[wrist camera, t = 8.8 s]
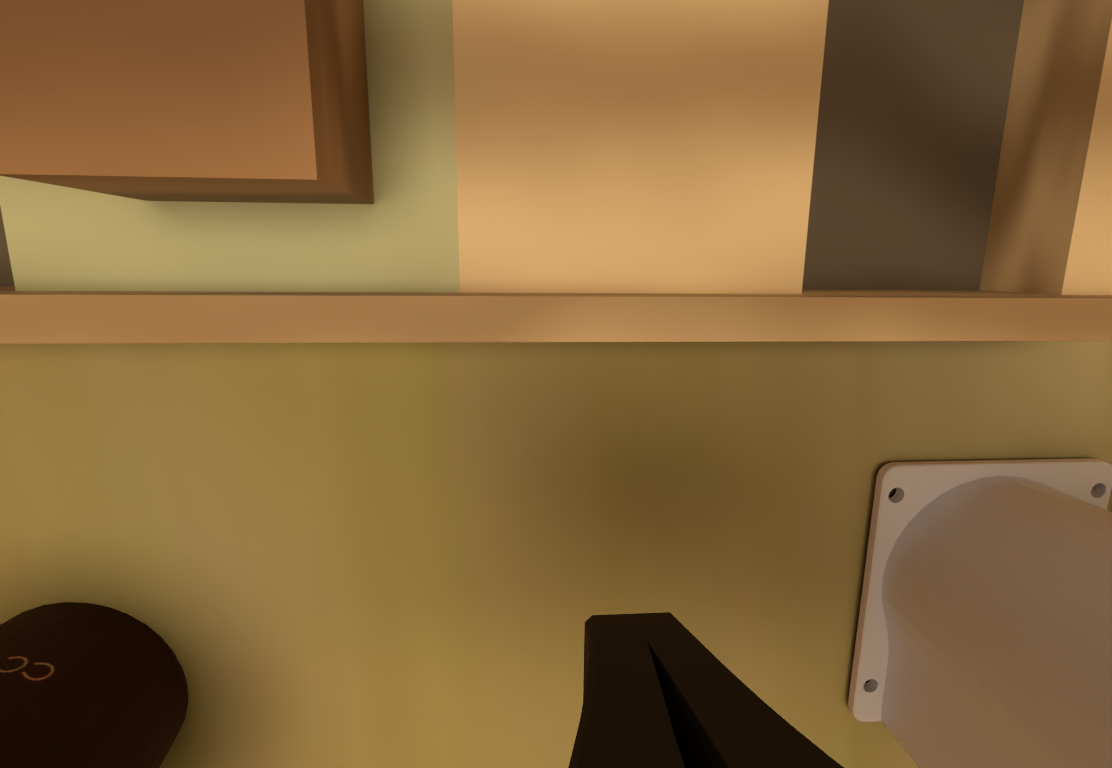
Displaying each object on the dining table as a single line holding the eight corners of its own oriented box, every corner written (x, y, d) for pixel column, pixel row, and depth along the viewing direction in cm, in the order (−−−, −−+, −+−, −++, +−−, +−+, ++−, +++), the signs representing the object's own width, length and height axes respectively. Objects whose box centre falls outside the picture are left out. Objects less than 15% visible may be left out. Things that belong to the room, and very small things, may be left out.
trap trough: (1011, 322, 18) (1169, 340, 14) (-220, 321, 16) (-507, 344, 11) (1077, -75, 16) (1290, -202, 12) (-347, -154, 13) (-765, -357, 9)
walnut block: (374, 204, 13) (317, 179, 9) (146, 200, 13) (-11, 173, 9) (360, -41, 12) (290, -181, 8) (113, -52, 12) (-80, -205, 8)
